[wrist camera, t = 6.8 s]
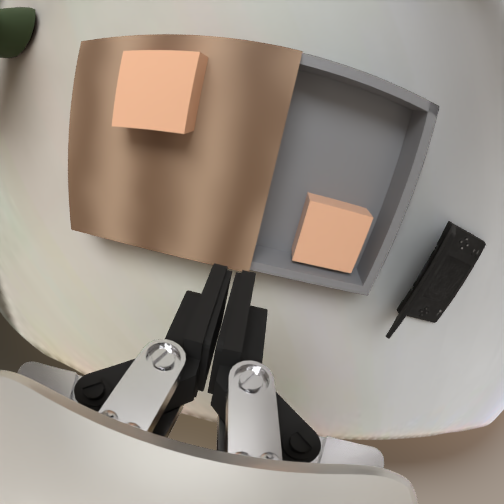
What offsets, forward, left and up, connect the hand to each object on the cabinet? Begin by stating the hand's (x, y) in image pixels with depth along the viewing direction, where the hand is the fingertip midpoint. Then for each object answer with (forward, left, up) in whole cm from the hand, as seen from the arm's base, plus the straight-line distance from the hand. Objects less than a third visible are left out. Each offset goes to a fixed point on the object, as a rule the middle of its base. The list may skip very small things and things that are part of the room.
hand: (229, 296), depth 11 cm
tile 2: (+7, -7, -9) cm, 14 cm away
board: (+7, -3, -13) cm, 15 cm away
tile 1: (-6, +1, -10) cm, 12 cm away
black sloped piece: (-19, +3, -13) cm, 23 cm away
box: (-6, -3, -13) cm, 15 cm away
